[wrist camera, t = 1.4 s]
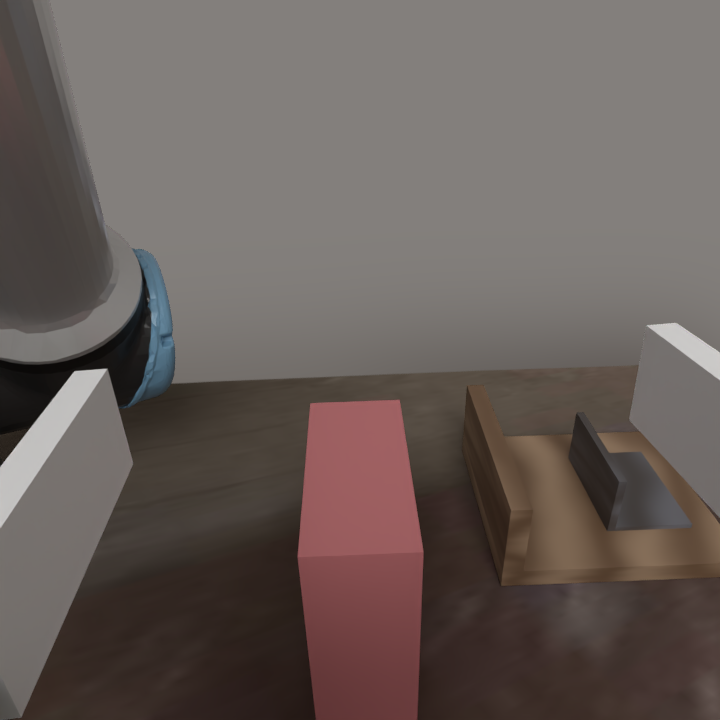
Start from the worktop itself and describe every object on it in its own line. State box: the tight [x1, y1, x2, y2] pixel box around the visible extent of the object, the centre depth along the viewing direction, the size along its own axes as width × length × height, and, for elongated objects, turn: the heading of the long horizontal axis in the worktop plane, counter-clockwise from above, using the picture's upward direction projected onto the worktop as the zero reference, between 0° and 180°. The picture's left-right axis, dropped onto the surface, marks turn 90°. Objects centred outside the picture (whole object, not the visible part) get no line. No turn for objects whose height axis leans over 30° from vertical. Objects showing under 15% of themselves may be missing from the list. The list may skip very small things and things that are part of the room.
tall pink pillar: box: [298, 400, 424, 720], centre depth 33 cm, size 5×11×18 cm, turn 2°
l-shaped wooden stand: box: [462, 385, 720, 586], centre depth 49 cm, size 18×16×8 cm
